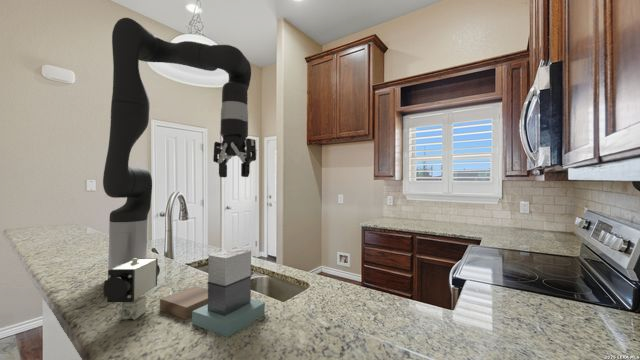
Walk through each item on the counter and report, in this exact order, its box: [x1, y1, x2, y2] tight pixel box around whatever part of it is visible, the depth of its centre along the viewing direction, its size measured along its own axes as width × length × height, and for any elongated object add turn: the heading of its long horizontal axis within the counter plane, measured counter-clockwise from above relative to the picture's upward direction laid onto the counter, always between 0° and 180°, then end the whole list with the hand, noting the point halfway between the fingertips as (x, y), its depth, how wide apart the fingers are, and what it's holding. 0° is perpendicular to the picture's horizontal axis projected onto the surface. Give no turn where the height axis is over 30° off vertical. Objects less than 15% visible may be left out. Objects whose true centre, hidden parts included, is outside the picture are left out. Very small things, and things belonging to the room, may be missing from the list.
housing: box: [206, 248, 252, 316], centre depth 56 cm, size 5×7×11 cm
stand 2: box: [191, 299, 266, 338], centre depth 56 cm, size 10×10×2 cm
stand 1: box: [159, 285, 208, 321], centre depth 61 cm, size 9×9×2 cm
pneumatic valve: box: [102, 257, 161, 321], centre depth 57 cm, size 6×12×12 cm, turn 3°
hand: (233, 177), depth 77 cm, fingers open, 8 cm apart
